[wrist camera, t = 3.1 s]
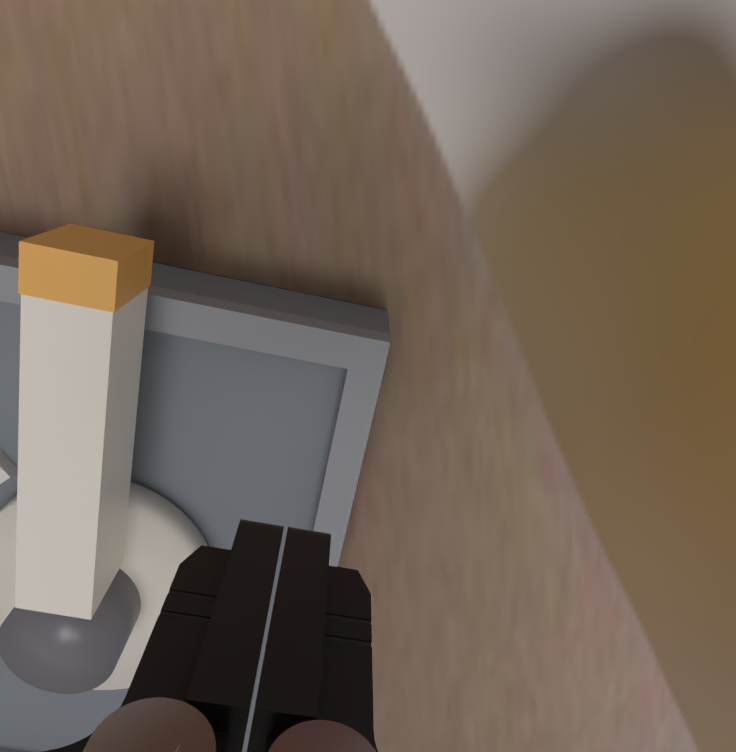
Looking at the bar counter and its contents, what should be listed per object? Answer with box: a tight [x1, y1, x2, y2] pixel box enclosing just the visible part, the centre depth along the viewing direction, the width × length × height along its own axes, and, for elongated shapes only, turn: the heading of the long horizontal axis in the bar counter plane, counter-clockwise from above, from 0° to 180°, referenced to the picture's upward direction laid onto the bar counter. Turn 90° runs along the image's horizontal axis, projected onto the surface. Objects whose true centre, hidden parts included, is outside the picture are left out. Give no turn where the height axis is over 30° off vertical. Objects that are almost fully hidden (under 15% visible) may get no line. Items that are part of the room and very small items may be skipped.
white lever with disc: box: [0, 223, 208, 694], centre depth 22 cm, size 18×9×4 cm, turn 168°
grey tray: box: [0, 231, 391, 752], centre depth 27 cm, size 18×24×4 cm
